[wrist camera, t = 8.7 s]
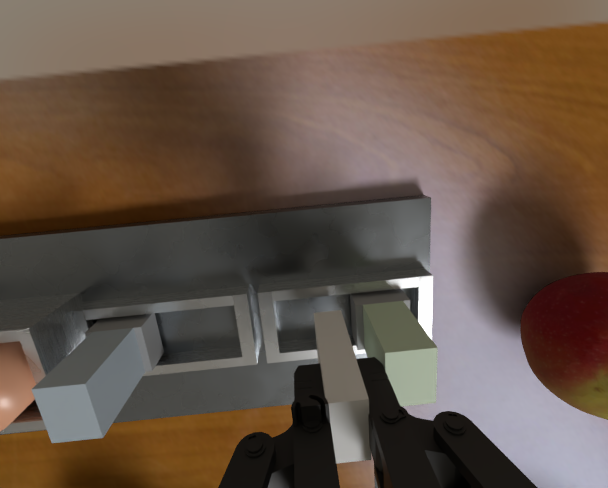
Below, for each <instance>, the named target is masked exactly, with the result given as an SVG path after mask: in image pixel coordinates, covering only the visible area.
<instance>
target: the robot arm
mask: <svg viewBox="0 0 608 488" xmlns="http://www.w3.org/2000/svg"><path fill="white" fill-rule="evenodd" d="M314 323H315V334H316V345H317V356H318V364H309V365H299V366H298V367H297V369H296V371H295V373H294V401H293V403H292V407H291V410H292V418H293V424H292V425H291V427H290V428H289V429H288V430H287V431H286V432H284V433H282V434H280V435H278V436H276V437H273V438H272V437H271V436H269V435H268V434H266V433H263V432H255V433H252V434H249V435H247V436H246V437H244V438H243V439H242V440H241V441H240V442H239V444H238V445H237V447H236V449H235V451H234V454H233V456H232V458H231V460H230V463H229V465H228V467H227V469H226V472H225V474H224V476H223V478H222V481H221V483H220V485H219V487H218V488H340V485H339V479H338V472H337V465H336V463H344V462H354V461H363V460H371V453H372V457H373V460H374V474H375V488H537V487H536V486H535V485H534V484H533V483H532V482H531V481H530V480H529V479H528V478H527V477H526V476H525V475H524V474H523V473H522V472H521V471H520V470H519V469H518V468H517V467H516V466H515V465H514V464H513V463H512V462H511V461H510V460H509V459H508V458H507V457H506V456H505V455H504V454H503V453H502V452H501V451H500V450H499V449H498V448H497V447H496V446H495V445H494V444H493V443H492V442H491V441H490V440H489V439H488V438H487V437H486V436H485V435H484V434H483V433H482V432H481V431H480V430H479V429H478V427H477V426H476V425H475V424H474V423H473V422H472V421H471V420H469V419H468V418H467V417H465V416H464V415H461V414H459V413H457V412H450V411H446V412H441V413H439V414H438V415H436V417H435V418H434V421H431V420H425V419H420V418H416V417H414V416H411V415H409V414H408V412H407V411H406V410H405V409H404V408H403V407H401V406H400V404H399V402H398V399H397V397H396V395H395V392H394V390H393V388H392V385H391V383H390V381H389V378H388V376H387V374H386V371H385V369H384V367H383V364H382V363H381V362H380V361H379V360H378V359H376V358H375V357H370V358H360V359H356V356H355V353H354V350H353V347H352V344H351V340H350V337H349V334H348V331H347V328H346V324H345V321H344V318H343V315H342V312H341V310H337V311H327V312H317V313H314Z"/></svg>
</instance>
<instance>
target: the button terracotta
mask: <svg viewBox="0 0 608 488" xmlns="http://www.w3.org/2000/svg"><path fill="white" fill-rule="evenodd" d="M35 385H36V383H35V380H34V377H33V375H32V372H31V369H30V367H29V364H28V362H27V359H26V356H25V354H24V351H23V348H22V346H21V343H20V341H17V342H7V343H0V431H2V430H4V429H5V428H6V427H7V426H8V425H10V424H11V423H12V422H13V421H14V420H15V419H16V418H17V417H18V416H19V415H20V414H21V413H22V412H23V411H24V410H25V409H26V408H27V407H28V406H29V405H30V404H31V403H32V402H33V401H34V400H35V398H34V395H33V393H32V390H31V389H32V388H33V387H34V386H35Z"/></svg>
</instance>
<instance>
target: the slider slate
mask: <svg viewBox="0 0 608 488" xmlns="http://www.w3.org/2000/svg"><path fill="white" fill-rule="evenodd" d="M85 335H86V338H85V339H84V340H83V341H82V342H81V343H80V344H79V345H78V346H77V347H76V348H75V349H74V350H73V351H72V352H71V353H69V354H68V355H67V356H66V357H65V358H64V359H63V360H62V361H61V362H60V363H59V364H58V365H57V366H56V367H55V368H54V369H52V370H51V371H50V372H49V373H48V374H47V375H46V376H45V377H44V378H43V379H42V380H41V381H40V382H39V383H38V384H37V385H35V386H34V387H33V388H32V389H31V390H32V393H33V395H34V398H35V400H36V403H37V406H38V408H39V411H40V413H41V416H42V419H43V421H44V424H45V426H46V429H47V431H48V434H49V437H50V439H51V442H52V443H59V442H68V441H78V440H87V439H97V438H103V437H104V436H105V434H106V432H107V431H108V429H109V428H110V426H111V425H112V423H113V422H114V420H115V418H116V417H117V415H118V414H119V412H120V411H121V409H122V407H123V406H124V404H125V403H126V401H127V400H128V398H129V397H130V395H131V393H132V392H133V390H134V389H135V387H136V386H137V384H138V382H139V381H140V379H141V378H142V376H143V375H144V373H145V372H150V371H153V369H154V368H155V366H156V365H157V363H158V361H159V360H160V358H161V356H162V355H163V353H164V350H163V346H162V342H161V338H160V334H159V329H158V325H157V321H156V317H155V313H152V314H142V315H132V316H122V317H112V318H102V319H99V320H98V321H97V322H96V323H95V324H94V325H93V326H92V327H91V328H90V329H88V330H87V331H86V332H85Z"/></svg>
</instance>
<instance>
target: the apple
mask: <svg viewBox="0 0 608 488" xmlns="http://www.w3.org/2000/svg"><path fill="white" fill-rule="evenodd" d="M520 329H521V340H522V345H523V348H524V351H525V354H526V358H527V361H528V363H529V365H530V367H531V369H532V371H533V373H534V374H535V375H536V377H537V378H538V379H539V380H540V381H541V382H542V384H543V385H544V386H545V387H546V388H548V389H549V390H550V391H551V392H552V393H553V394H555V395H556V396H557V397H558V398H560V399H561V400H563V401H564V402H566V403H568V404H569V405H571V406H573V407H575V408H577V409H579V410H581V411H583V412H586V413H588V414H591V415H595V416H598V417H601V418H604V419H607V420H608V272H595V273H585V274H579V275H574V276H570V277H566V278H563V279H560V280H558V281H555V282H553V283H551V284H549V285H547V286H546V287H544V288H543V289H541V290H540V291H539V292H538V293H537V294H536V295H535V296H534V297H533V298H532V299H531V300H530V302H529V303H528V305H527V306H526V308H525V309H524V311H523V314H522V317H521V328H520Z"/></svg>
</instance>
